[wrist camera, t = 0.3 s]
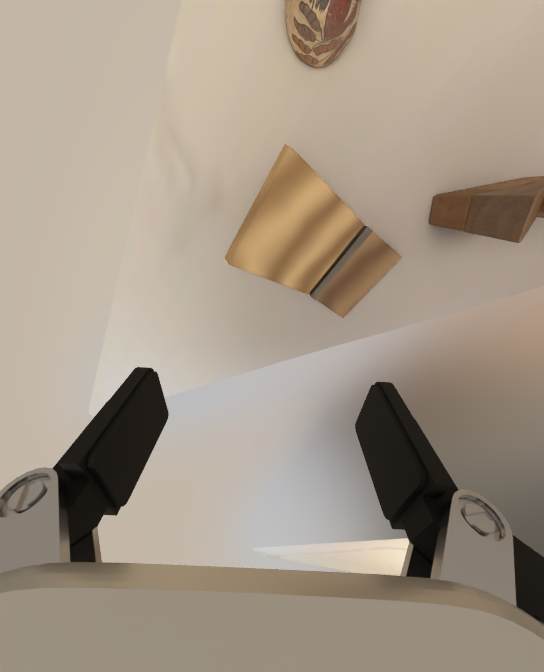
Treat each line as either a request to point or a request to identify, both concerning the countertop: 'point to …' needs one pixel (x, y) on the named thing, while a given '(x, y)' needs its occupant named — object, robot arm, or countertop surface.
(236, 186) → the countertop surface
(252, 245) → the oak plank
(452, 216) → the wooden block stack
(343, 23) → the figurine
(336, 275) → the brown flat block
